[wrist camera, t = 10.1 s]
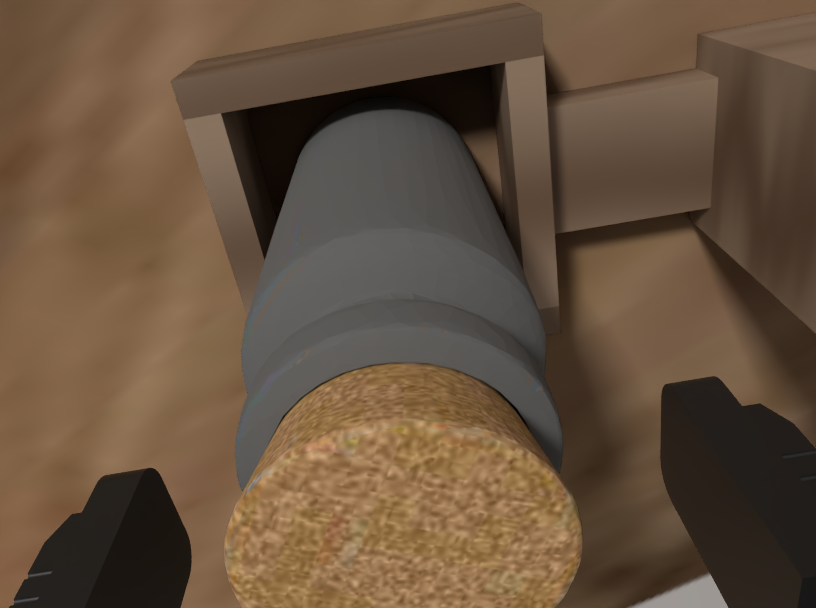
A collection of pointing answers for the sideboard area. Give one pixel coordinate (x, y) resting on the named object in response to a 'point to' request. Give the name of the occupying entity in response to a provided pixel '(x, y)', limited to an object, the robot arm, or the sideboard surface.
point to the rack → (558, 139)
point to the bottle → (396, 388)
